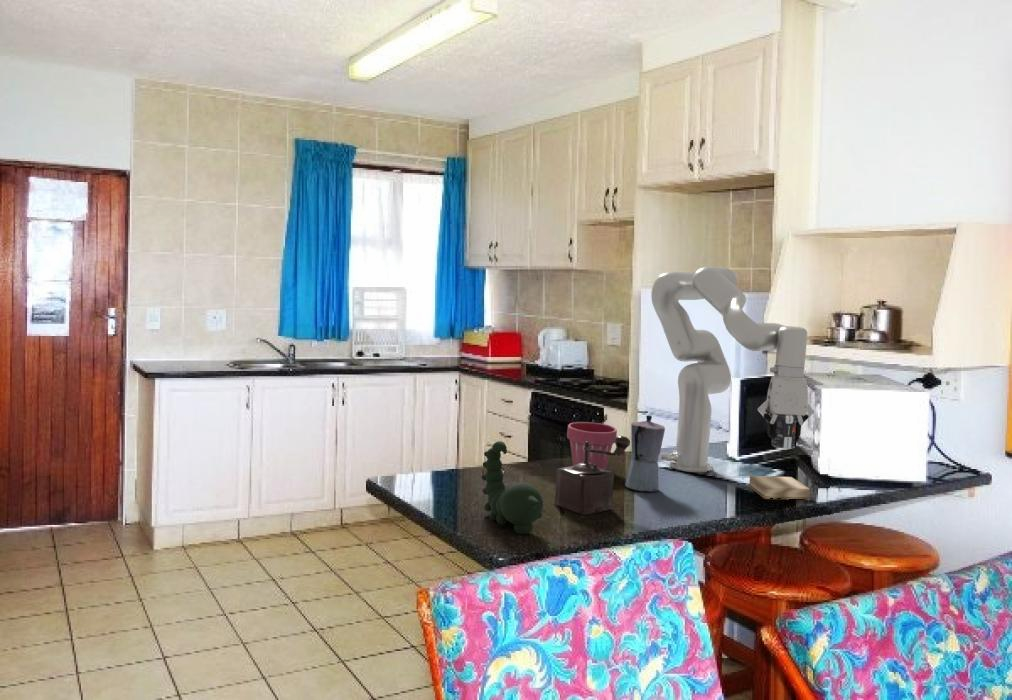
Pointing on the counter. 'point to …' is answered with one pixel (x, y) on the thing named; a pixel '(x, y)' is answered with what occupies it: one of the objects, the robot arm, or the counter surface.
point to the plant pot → (591, 441)
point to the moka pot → (645, 455)
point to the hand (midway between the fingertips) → (783, 437)
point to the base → (778, 487)
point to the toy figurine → (509, 495)
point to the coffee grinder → (587, 483)
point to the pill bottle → (785, 431)
